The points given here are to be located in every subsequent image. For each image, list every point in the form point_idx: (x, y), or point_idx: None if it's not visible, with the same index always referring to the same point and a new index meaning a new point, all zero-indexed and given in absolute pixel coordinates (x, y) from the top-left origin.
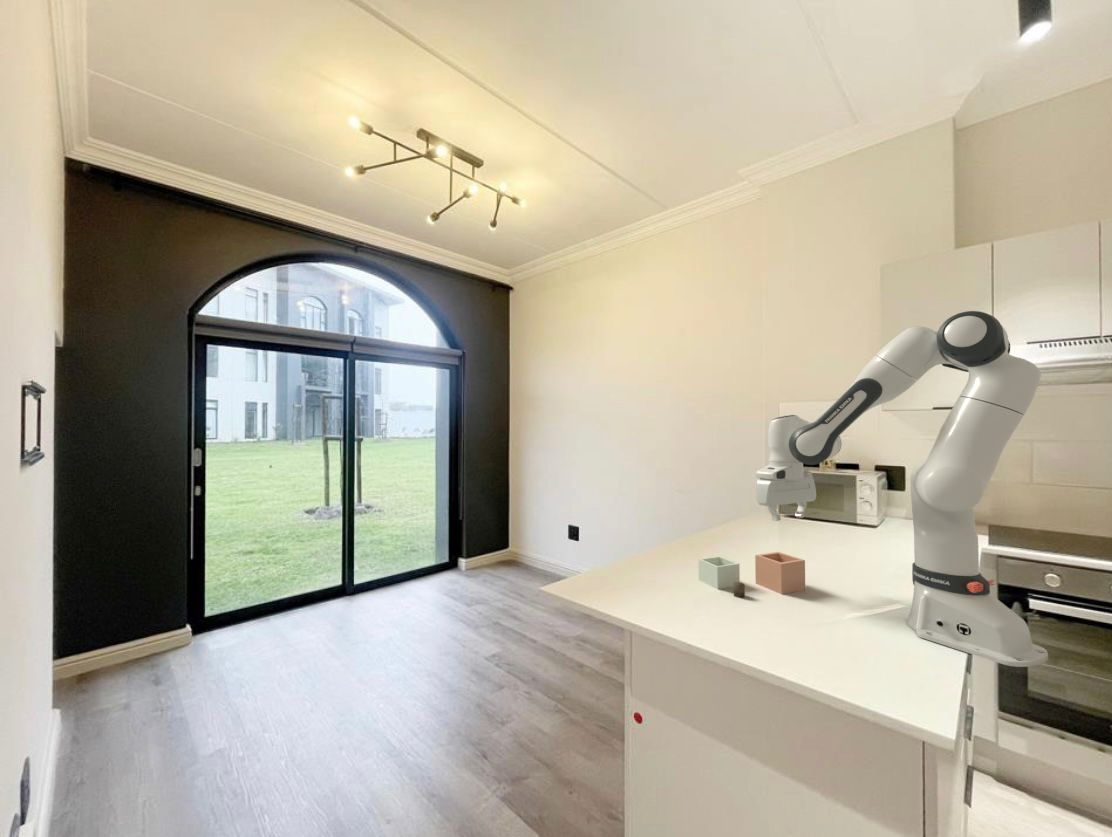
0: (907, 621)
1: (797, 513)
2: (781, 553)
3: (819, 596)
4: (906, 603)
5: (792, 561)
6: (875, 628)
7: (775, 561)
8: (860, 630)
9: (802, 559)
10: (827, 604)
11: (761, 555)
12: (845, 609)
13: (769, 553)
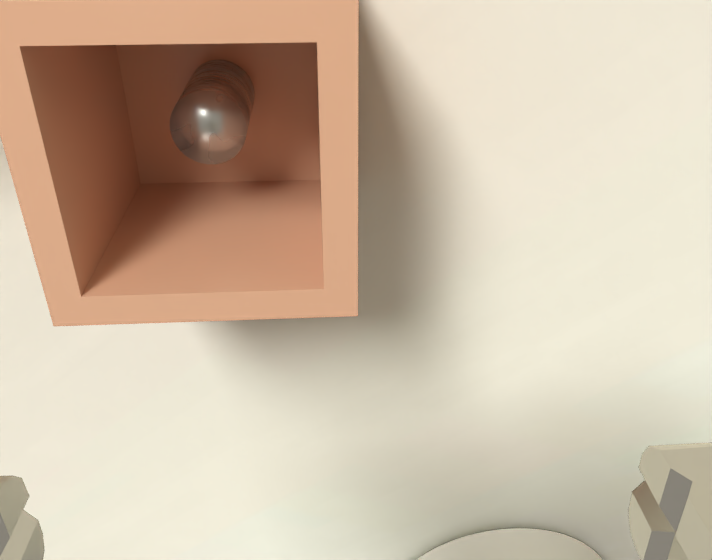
0: (436, 551)
1: (678, 546)
2: (336, 69)
3: (378, 255)
4: (680, 437)
5: (214, 309)
6: (275, 537)
7: (50, 260)
8: (200, 533)
9: (355, 296)
10: (313, 342)
11: (36, 43)
12: (340, 404)
13: (193, 15)
